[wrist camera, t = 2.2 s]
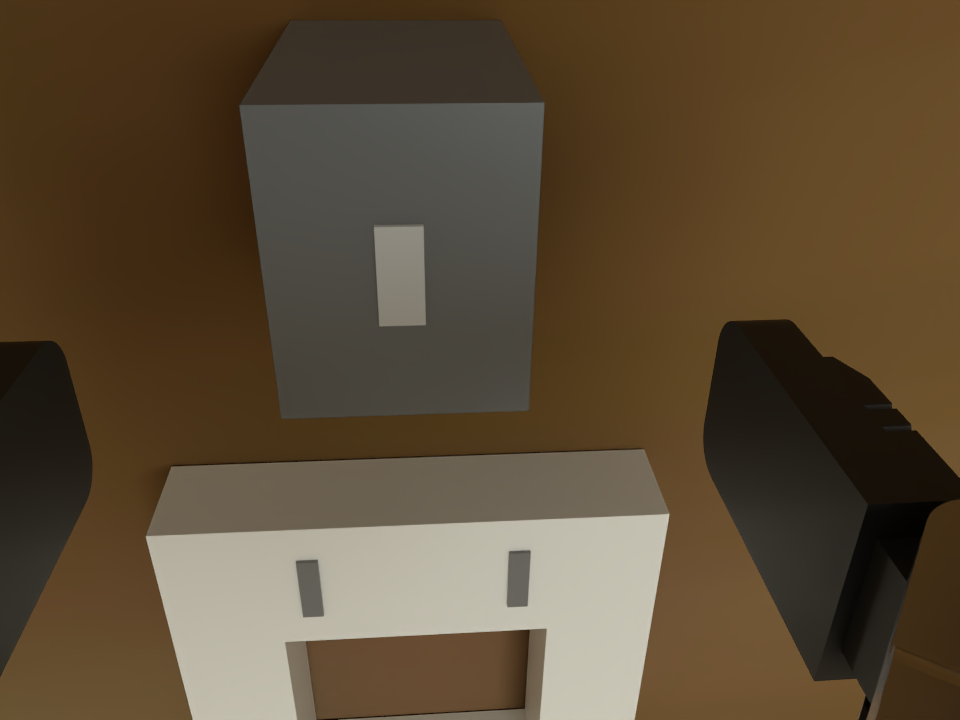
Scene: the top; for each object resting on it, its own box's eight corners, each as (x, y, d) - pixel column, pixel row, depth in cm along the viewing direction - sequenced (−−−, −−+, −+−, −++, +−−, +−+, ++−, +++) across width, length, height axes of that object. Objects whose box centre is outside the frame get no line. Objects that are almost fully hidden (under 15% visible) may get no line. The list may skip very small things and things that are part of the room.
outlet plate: (171, 466, 21) (144, 539, 19) (644, 449, 22) (670, 516, 20) (244, 795, 29) (231, 875, 26) (598, 772, 29) (613, 848, 27)
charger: (290, 20, 16) (238, 106, 11) (500, 20, 16) (545, 104, 11) (314, 260, 19) (280, 421, 14) (495, 256, 19) (529, 413, 14)
